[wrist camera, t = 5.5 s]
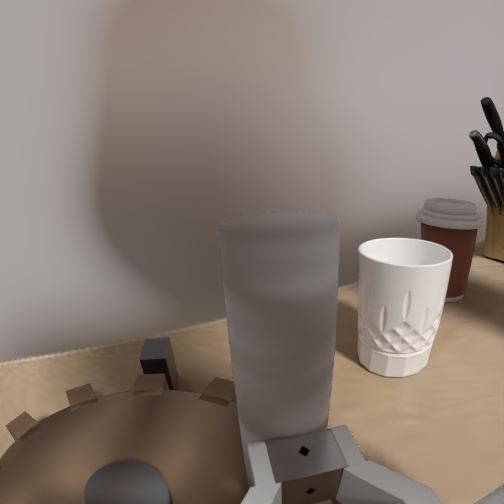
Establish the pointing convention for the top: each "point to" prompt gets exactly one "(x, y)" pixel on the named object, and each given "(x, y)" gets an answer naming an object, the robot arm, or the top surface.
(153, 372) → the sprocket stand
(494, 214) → the knife block
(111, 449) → the sprocket
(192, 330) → the top surface
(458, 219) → the coffee cup
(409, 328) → the white cup
